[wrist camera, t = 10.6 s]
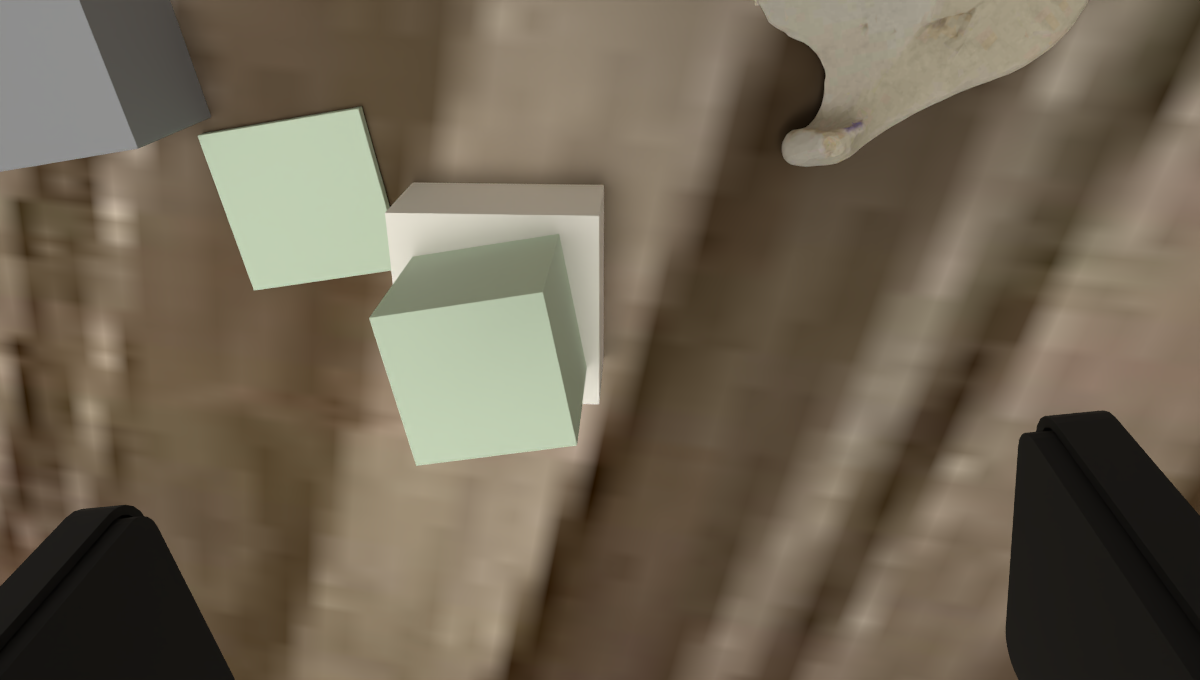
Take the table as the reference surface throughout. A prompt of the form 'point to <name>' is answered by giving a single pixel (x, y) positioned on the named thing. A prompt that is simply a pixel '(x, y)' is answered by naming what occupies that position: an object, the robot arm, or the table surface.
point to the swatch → (302, 197)
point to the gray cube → (91, 79)
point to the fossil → (906, 58)
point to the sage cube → (484, 351)
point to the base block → (513, 239)
